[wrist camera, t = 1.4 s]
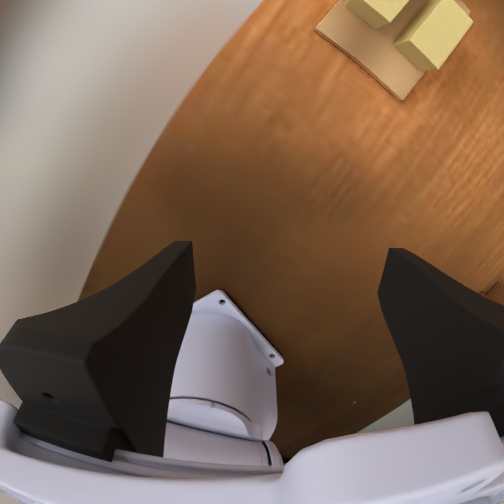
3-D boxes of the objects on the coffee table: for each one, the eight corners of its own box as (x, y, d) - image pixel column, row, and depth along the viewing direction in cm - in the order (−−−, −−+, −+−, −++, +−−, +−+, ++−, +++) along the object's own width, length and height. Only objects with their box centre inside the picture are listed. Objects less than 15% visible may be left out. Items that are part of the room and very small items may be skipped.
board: (465, 12, 14) (471, 11, 13) (397, 100, 17) (402, 101, 17) (392, -55, 12) (396, -59, 11) (312, 30, 16) (315, 27, 15)
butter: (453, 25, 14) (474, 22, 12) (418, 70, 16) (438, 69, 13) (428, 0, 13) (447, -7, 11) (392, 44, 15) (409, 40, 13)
